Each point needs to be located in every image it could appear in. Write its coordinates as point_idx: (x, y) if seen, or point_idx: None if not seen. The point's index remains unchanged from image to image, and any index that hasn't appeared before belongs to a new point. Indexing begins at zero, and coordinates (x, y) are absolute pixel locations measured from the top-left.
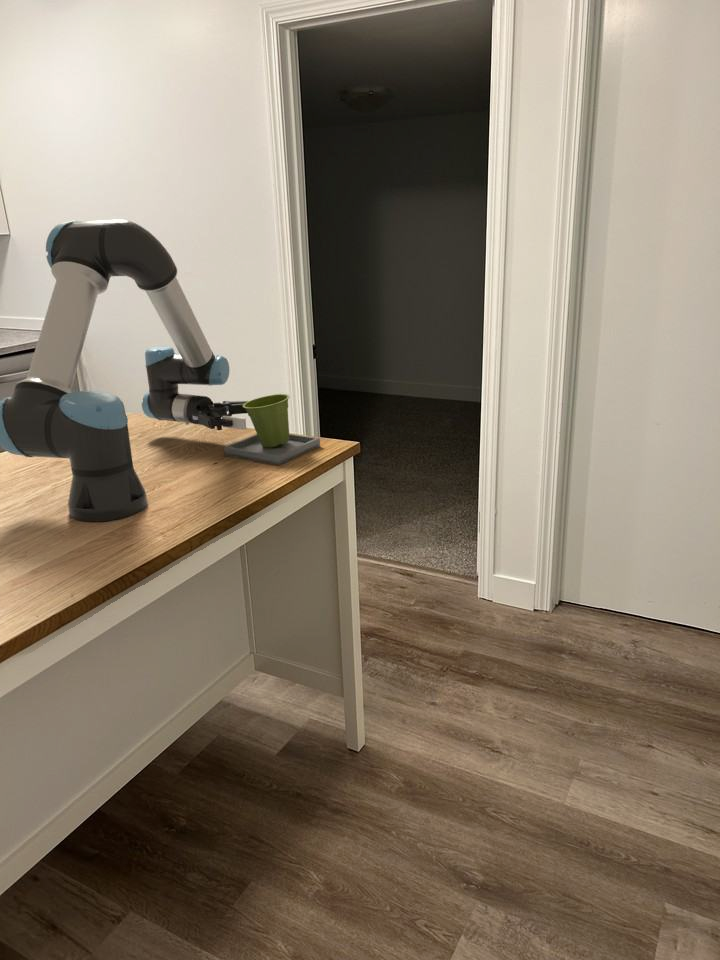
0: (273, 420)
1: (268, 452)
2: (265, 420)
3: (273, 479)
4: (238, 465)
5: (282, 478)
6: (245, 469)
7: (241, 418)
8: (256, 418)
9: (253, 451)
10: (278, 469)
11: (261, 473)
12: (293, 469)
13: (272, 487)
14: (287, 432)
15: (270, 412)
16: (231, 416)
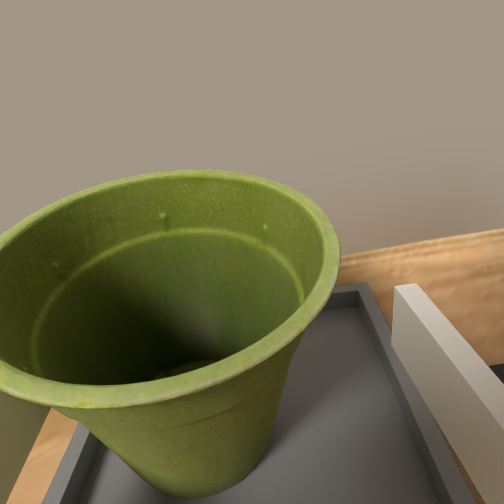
0: (251, 269)
1: (311, 383)
2: (280, 281)
3: (451, 260)
4: None
5: (426, 254)
6: (490, 352)
7: (422, 295)
8: (302, 301)
9: (399, 369)
10: (390, 291)
11: (456, 299)
12: (359, 272)
13: (483, 238)
14: (189, 330)
15: (264, 225)
16: (465, 378)
